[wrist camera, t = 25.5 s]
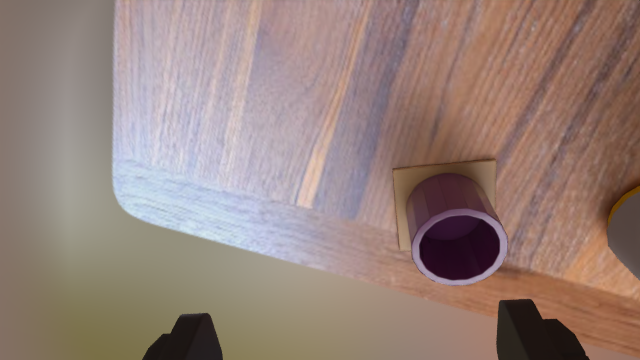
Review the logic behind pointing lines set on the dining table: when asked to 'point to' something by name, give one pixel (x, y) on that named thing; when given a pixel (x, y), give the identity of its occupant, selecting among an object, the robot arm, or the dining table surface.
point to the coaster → (413, 176)
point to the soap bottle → (626, 230)
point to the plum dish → (454, 230)
